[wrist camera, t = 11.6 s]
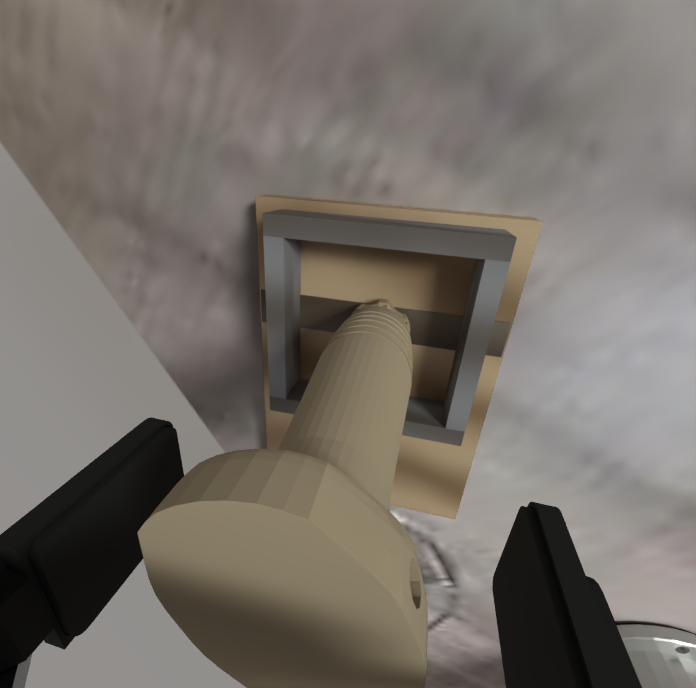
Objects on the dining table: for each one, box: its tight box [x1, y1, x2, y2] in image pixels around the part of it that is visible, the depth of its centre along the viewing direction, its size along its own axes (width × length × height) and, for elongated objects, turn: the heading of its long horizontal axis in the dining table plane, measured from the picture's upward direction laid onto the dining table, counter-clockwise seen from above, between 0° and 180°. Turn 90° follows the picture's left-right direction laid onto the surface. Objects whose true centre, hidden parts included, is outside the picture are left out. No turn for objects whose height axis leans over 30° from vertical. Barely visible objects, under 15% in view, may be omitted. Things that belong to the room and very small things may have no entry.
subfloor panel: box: [255, 195, 543, 519], centre depth 21 cm, size 20×14×4 cm
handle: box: [137, 299, 428, 688], centre depth 13 cm, size 5×6×15 cm
